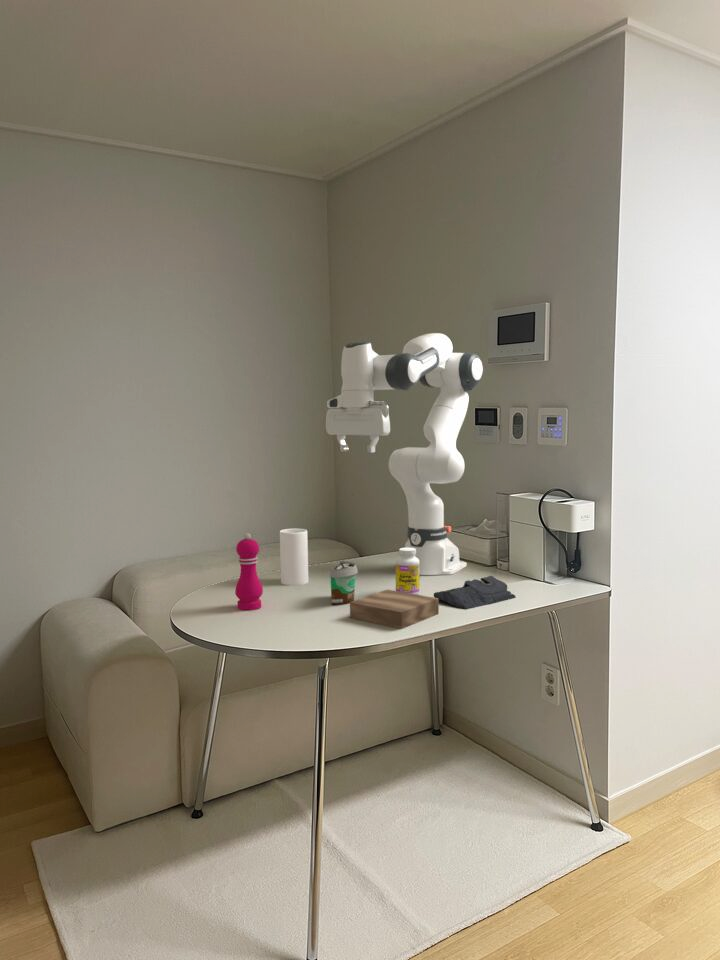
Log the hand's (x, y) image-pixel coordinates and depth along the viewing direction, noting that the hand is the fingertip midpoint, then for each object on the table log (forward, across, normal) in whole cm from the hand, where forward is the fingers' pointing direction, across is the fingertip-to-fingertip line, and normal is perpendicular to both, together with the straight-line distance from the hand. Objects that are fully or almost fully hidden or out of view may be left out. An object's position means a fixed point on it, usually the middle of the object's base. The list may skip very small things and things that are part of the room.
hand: (357, 451), depth 213 cm
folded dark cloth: (+41, -28, -16) cm, 52 cm away
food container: (+41, -1, +7) cm, 41 cm away
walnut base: (+40, -20, +11) cm, 47 cm away
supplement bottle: (+40, -10, -9) cm, 43 cm away
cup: (+40, +25, 0) cm, 47 cm away
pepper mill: (+41, +16, +27) cm, 51 cm away
